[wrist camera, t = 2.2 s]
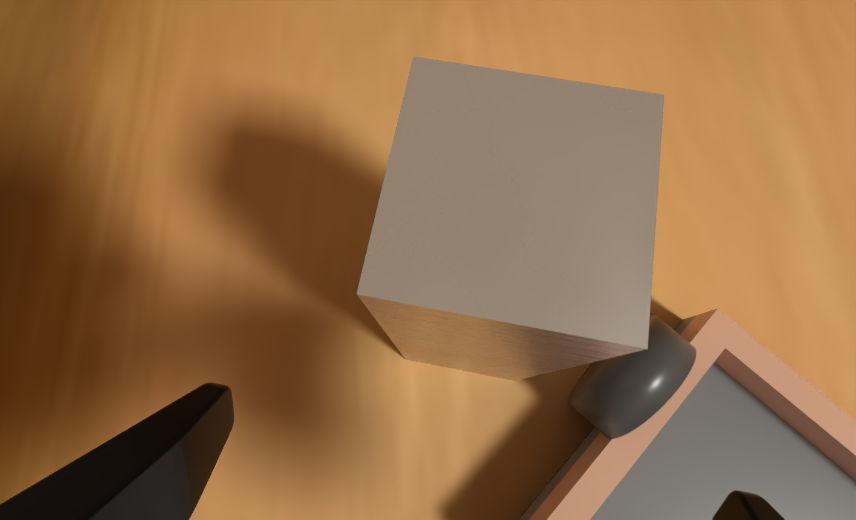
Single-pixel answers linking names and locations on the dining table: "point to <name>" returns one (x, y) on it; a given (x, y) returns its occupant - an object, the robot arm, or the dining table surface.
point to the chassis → (702, 433)
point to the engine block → (515, 221)
